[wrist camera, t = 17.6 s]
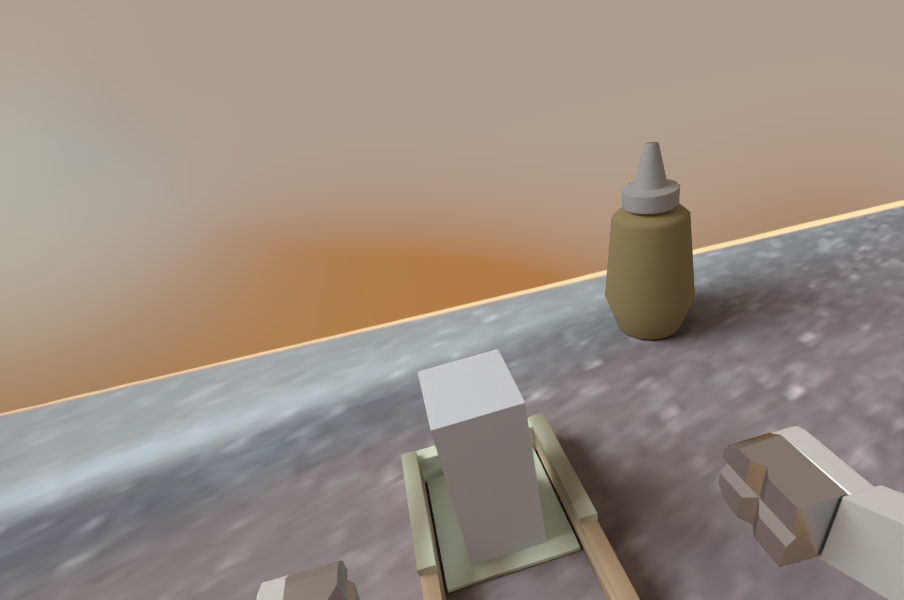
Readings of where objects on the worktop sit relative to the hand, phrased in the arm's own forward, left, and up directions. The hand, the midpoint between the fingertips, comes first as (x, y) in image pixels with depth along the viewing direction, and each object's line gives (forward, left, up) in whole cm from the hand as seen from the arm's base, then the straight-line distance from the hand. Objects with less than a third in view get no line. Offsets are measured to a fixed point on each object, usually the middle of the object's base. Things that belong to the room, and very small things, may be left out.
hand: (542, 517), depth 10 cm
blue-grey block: (0, +14, -20) cm, 25 cm away
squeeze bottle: (+21, +30, -21) cm, 42 cm away
